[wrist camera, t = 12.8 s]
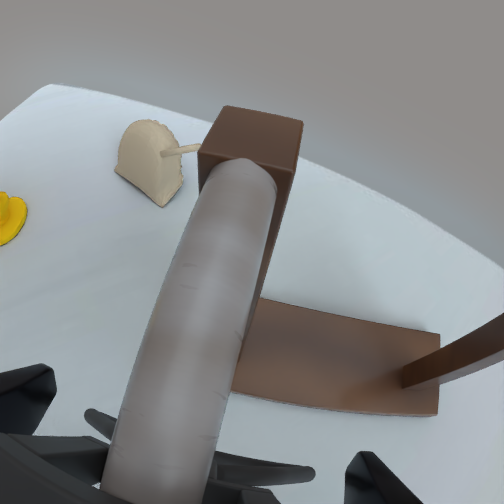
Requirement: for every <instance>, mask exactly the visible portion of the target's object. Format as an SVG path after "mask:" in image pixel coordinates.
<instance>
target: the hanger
mask: <svg viewBox="0 0 504 504" xmlns="http://www.w3.org/2000/svg"><path fill="white" fill-rule="evenodd" d="M84 417H85V420H86V421H87V422H88V423H89V424H90V425H91V426H92V427H94V428H95V429H96V430H97V431H99V432H100V433H101V434H102V435H104V436H105V437H106V438H108V439H109V440H110V441H111V440H112V436H113V433H114V429H115V425H116V422H117V419H116V418H114V417H111V416H109V415H107V414H104V413H102V412H98V411H97V410H95V409H88V410H86V411H85V413H84ZM109 448H110V445H109V444H107V443H104V442H102V441H100V440H98V439H96V438H93V437H91V436H82V437H59V436H33V435H19V434H7V435H6V434H5V433H0V504H132V503H130V502H127V501H125V500H122V499H120V498H117V497H115V496H113V495H110V494H108V493H106V492H103V491H101V490H99V489H97V488H95V487H93V486H92V485H95V484H97V483H99V482H100V483H101V480H102V476H103V472H104V467H105V463H106V459H107V455H108V451H109ZM314 477H315V470H314V469H313V468H312V467H309V466H300V465H291V464H284V463H276V462H270V461H264V460H258V459H252V458H247V457H242V456H237V455H232V454H228V453H223V452H219V451H215V453H214V456H213V460H212V464H211V468H210V472H209V476H208V480H207V484H206V487H205V491H204V495H203V499H202V503H201V504H281V503H280V502H279V501H278V500H277V499H276V497H275V496H274V495H273V493H272V492H271V490H269V489H264V488H258V487H251V486H271V485H284V484H294V483H303V482H309V481H311V480H313V479H314Z"/></svg>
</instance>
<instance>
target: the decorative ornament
mask: <svg viewBox="0 0 504 504" xmlns="http://www.w3.org/2000/svg"><path fill="white" fill-rule="evenodd" d="M200 147H201V144H199V143H198V144H192V145H187V146H182V147H179V143H178V141H177V140H176V139H175V138H174V135H173V133H172V132H171V131H170V130H169V129H168V128H167V126H166V125H164V124H160V123H159V122H158V121H156V120H153V121H152V120H150V119H148V120H138V121H136V122H134V123H132V124H131V125H130V126H129V127H128V128H127V129H126V131H125V133H124V134H123V136H122V139H121V141H120V145H119V150H118V165H117V166H116V167H115V169H114V171H115V172H116V173H118V174H119V175H121V176H123V177H124V178H126V179H127V180H129V181H130V182H132V183H133V184H134V185H136V186H137V187H138V188H140V189H141V190H142V191H143V192H144V193H145V194H147V195H148V196H149V197H150V198H151V199H152V200H153V201H154V202H155V203H156V204H157V205H159V206H160V207H162V208H163V207H164V206H165V205H166V203H167V202H168V201H169V200H170V199H171V198H172V197H173V196H174V194H175V193H176V192H177V190H178V189H179V188H180V187H181V185H182V184H183V175H182V174H181V170H180V169H181V168H182V166H181V157H182V154H184V153H189V152H194V151H198V150H199V148H200Z"/></svg>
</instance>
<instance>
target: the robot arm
mask: <svg viewBox="0 0 504 504" xmlns="http://www.w3.org/2000/svg"><path fill="white" fill-rule="evenodd" d="M56 392H57V387H56V381H55V375H54V371H53V369H52V368H51V367H49V366H47V365H45V364H43V363H40V364H36V365H32V366H28V367H24V368H19V369H15V370H11V371H7V372H2V373H0V433H5V434H6V435H7V434H19V435H32V434H33V433H34V431H35V430H36V428H37V427H38V425H39V423H40V421H41V420H42V418H43V416H44V414H45V413H46V411H47V409H48V407H49V406H50V404H51V402H52V400H53V399H54V397H55V395H56ZM344 504H423V503H422V502H421V501H420V500H419V499H418V498H417V497H416V496H415V495H414V494H413V493H412V492H411V491H410V490H409V489H408V488H407V487H406V486H405V485H404V484H403V483H402V482H401V481H400V479H399V478H398V477H397V476H396V475H395V474H394V473H393V472H392V471H391V470H390V469H389V468H388V467H387V466H386V465H385V464H384V463H383V462H382V461H381V460H380V459H379V458H378V457H377V456H376V455H375V454H374V453H373V452H371V451H360V452H358V453H357V454H356V456H355V457H354V458H353V460H352V461H351V463H350V464H349V466H348V467H347V469H346V472H345V494H344Z"/></svg>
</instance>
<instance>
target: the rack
mask: <svg viewBox="0 0 504 504" xmlns="http://www.w3.org/2000/svg"><path fill="white" fill-rule="evenodd" d="M303 126H304V124H303V121H301V120H297V119H293V118H288V117H284V116H280V115H275V114H270V113H265V112H260V111H255V110H250V109H245V108H239V107H233V106H224V107H223V109H222V110H221V112H220V114H219V115H218V117H217V119H216V120H215V122H214V124H213V125H212V127H211V129H210V131H209V132H208V134H207V136H206V138H205V139H204V141H203V143H202V145H201V147H200V148H199V150H198V152H197V158H198V183H199V197H198V199H197V202H196V204H195V206H194V209H193V211H192V213H191V216H190V218H189V220H188V222H187V225H186V227H185V230H184V232H183V234H182V237H181V239H180V242H179V244H178V246H177V249H176V251H175V254H174V256H173V259H172V261H171V264H170V266H169V269H168V271H167V274H166V276H165V279H164V282H163V284H162V287H161V289H160V292H159V295H158V297H157V300H156V303H155V306H154V308H153V311H152V314H151V316H150V319H149V322H148V325H147V328H146V330H145V333H144V336H143V339H142V342H141V345H140V348H139V351H138V354H137V357H136V360H135V363H134V366H133V369H132V372H131V375H130V378H129V382H128V385H127V388H126V391H125V395H124V398H123V401H122V405H121V408H120V411H119V415H118V418H117V422H116V425H115V429H114V433H113V436H112V440H111V444H110V448H109V451H108V455H107V459H106V463H105V467H104V472H103V476H102V480H101V484H100V489H99V490H101V491H103V492H106V493H108V494H110V495H113V496H115V497H117V498H120V499H122V500H125V501H127V502H130V503H132V504H201V503H202V499H203V495H204V491H205V487H206V484H207V480H208V476H209V472H210V468H211V464H212V460H213V456H214V453H215V449H216V445H217V441H218V437H219V433H220V429H221V425H222V421H223V417H224V413H225V409H226V405H227V401H228V397H229V393H230V392H232V393H236V394H240V395H245V396H249V397H254V398H259V399H264V400H269V401H274V402H279V403H285V404H290V405H296V406H303V407H309V408H316V409H323V410H331V411H340V412H349V413H359V414H371V415H386V416H409V417H431V416H436V415H437V414H438V402H439V386H440V384H443V383H446V382H449V381H452V380H455V379H458V378H460V377H463V376H466V375H469V374H471V373H474V372H476V371H479V370H481V369H484V368H486V367H489V366H491V365H493V364H496V363H498V362H500V361H503V360H504V313H503V314H501V315H499V316H498V317H496V318H495V319H493V320H491V321H490V322H488V323H486V324H485V325H483V326H481V327H479V328H478V329H476V330H474V331H472V332H471V333H469V334H467V335H465V336H463V337H462V338H460V339H458V340H456V341H454V342H452V343H450V344H448V345H446V346H444V347H442V348H441V349H440V334H436V333H430V332H424V331H419V330H413V329H407V328H402V327H396V326H391V325H386V324H381V323H375V322H370V321H365V320H360V319H355V318H350V317H345V316H340V315H336V314H331V313H326V312H322V311H317V310H312V309H308V308H303V307H299V306H294V305H290V304H285V303H281V302H277V301H272V300H268V299H264V298H259V296H260V293H261V290H262V286H263V283H264V280H265V276H266V273H267V270H268V266H269V263H270V259H271V256H272V253H273V249H274V246H275V242H276V239H277V236H278V232H279V229H280V225H281V222H282V218H283V215H284V211H285V208H286V204H287V201H288V197H289V194H290V190H291V186H292V183H293V179H294V176H295V172H296V166H297V161H298V155H299V149H300V143H301V138H302V132H303Z"/></svg>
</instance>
